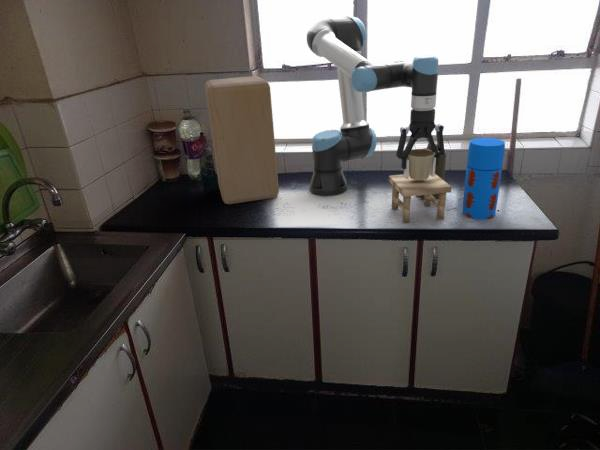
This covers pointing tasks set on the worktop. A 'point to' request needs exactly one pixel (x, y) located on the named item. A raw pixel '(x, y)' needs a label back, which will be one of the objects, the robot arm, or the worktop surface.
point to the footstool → (418, 193)
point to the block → (243, 138)
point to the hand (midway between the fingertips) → (419, 176)
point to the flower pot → (420, 163)
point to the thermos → (483, 177)
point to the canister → (437, 169)
